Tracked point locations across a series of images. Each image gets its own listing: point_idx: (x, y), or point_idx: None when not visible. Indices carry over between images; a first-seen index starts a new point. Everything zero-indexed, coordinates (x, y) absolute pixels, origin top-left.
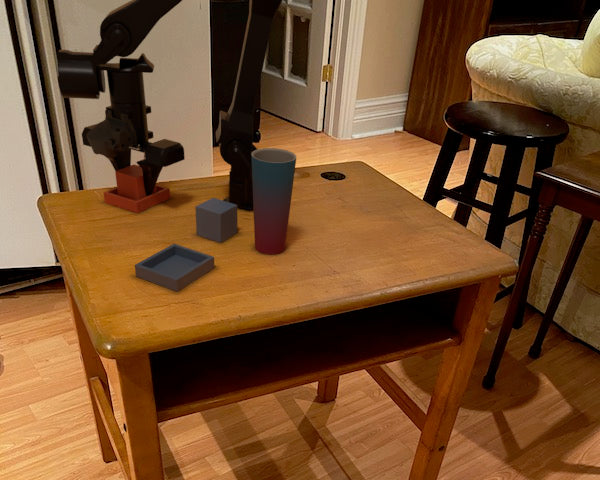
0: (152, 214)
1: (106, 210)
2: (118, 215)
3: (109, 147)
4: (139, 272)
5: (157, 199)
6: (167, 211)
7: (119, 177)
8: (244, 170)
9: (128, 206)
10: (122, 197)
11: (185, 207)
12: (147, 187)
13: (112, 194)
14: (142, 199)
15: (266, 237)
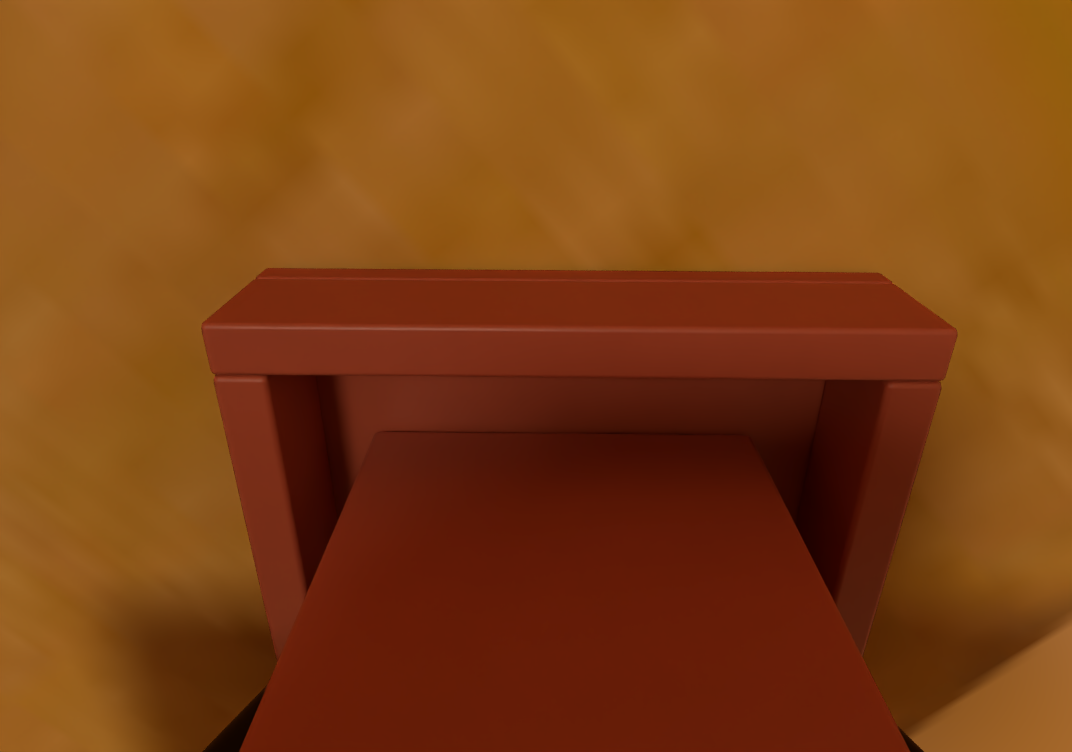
0: (112, 357)
1: (684, 58)
2: (401, 22)
3: None
4: None
5: None
6: (83, 518)
7: (770, 696)
8: None
9: (413, 287)
10: (536, 351)
11: (64, 679)
12: (247, 708)
13: (765, 352)
14: (247, 473)
15: None
